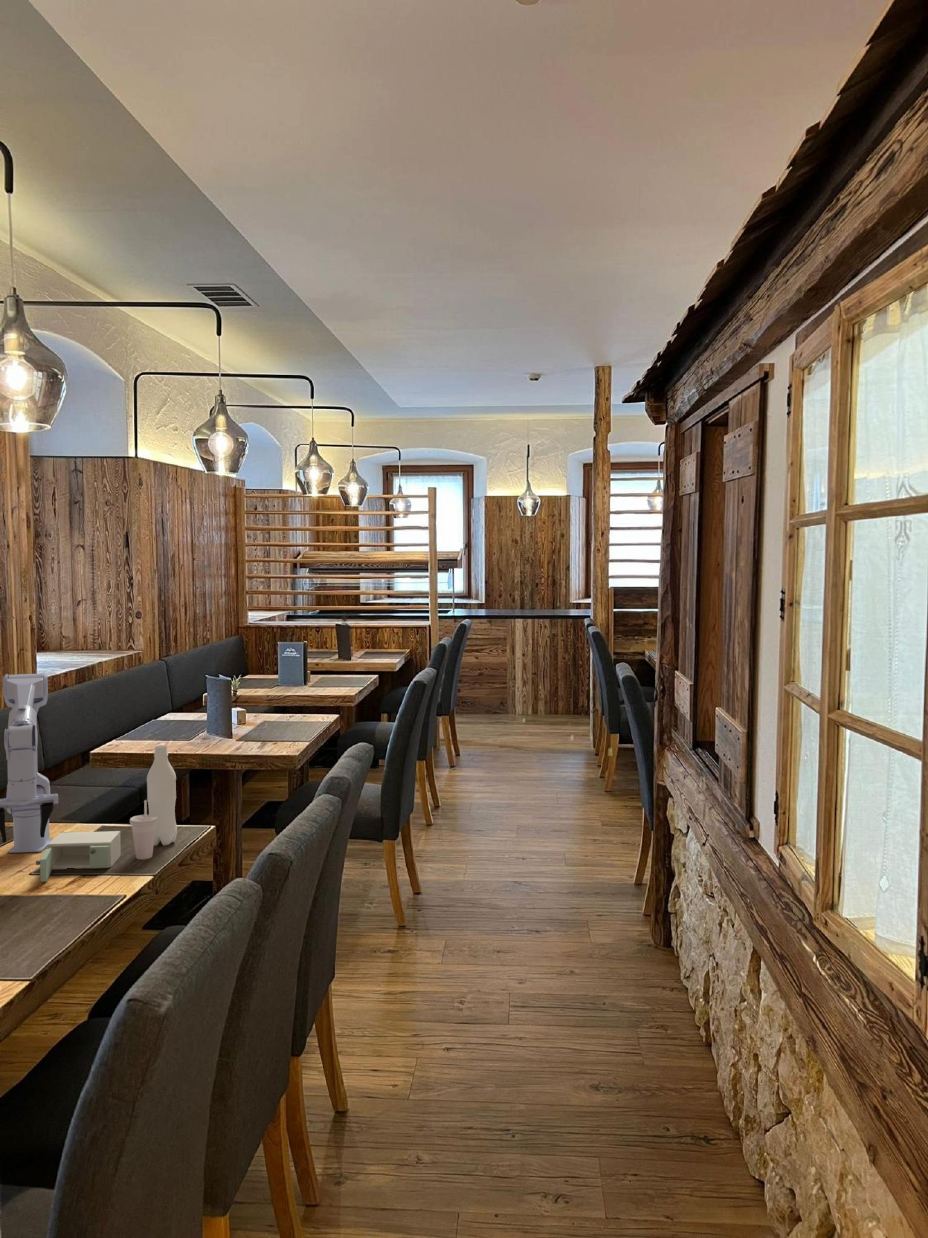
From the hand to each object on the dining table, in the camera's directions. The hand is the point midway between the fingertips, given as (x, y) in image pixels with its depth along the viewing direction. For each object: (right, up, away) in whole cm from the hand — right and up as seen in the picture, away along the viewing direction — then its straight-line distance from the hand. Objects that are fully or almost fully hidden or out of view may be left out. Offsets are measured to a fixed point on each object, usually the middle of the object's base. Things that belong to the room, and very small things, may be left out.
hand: (23, 838), depth 203 cm
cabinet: (+9, -9, +12) cm, 17 cm away
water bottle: (+22, -8, +28) cm, 37 cm away
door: (+3, -9, +3) cm, 10 cm away
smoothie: (+21, -9, +17) cm, 29 cm away
